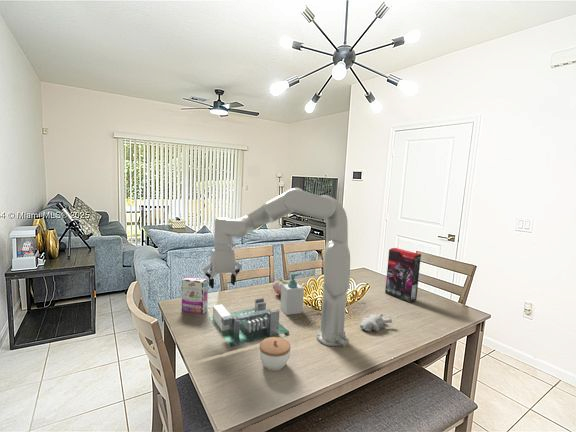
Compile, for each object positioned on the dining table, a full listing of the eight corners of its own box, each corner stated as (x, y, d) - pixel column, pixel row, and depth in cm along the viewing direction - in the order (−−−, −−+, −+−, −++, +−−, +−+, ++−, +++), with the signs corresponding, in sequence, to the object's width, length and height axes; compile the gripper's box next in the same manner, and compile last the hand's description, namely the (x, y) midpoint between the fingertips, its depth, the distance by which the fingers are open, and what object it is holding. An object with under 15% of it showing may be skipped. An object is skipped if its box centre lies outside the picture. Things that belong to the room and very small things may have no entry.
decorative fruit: (291, 295, 171) (292, 277, 170) (284, 299, 164) (284, 281, 163) (278, 291, 176) (278, 274, 174) (269, 295, 169) (270, 278, 168)
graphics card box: (383, 293, 181) (388, 248, 177) (390, 291, 185) (395, 247, 181) (410, 303, 167) (415, 255, 164) (417, 300, 171) (422, 253, 168)
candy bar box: (207, 311, 145) (208, 278, 143) (202, 316, 140) (203, 282, 138) (187, 308, 148) (187, 275, 146) (181, 312, 143) (181, 279, 141)
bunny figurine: (355, 318, 137) (378, 308, 145) (355, 328, 138) (378, 318, 146) (371, 327, 129) (394, 316, 137) (371, 338, 130) (394, 326, 138)
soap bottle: (303, 313, 149) (305, 275, 146) (286, 315, 146) (288, 276, 143) (296, 305, 157) (298, 270, 154) (280, 307, 154) (281, 271, 151)
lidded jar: (288, 356, 112) (290, 332, 111) (289, 375, 101) (291, 349, 100) (259, 356, 112) (260, 332, 110) (257, 374, 101) (258, 348, 100)
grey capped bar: (272, 315, 130) (272, 310, 130) (224, 326, 119) (224, 320, 119) (268, 312, 133) (268, 306, 133) (221, 322, 122) (221, 316, 122)
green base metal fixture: (289, 333, 128) (290, 309, 127) (230, 349, 115) (231, 322, 113) (260, 308, 151) (261, 287, 150) (209, 319, 138) (209, 296, 136)
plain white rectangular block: (231, 328, 128) (231, 315, 127) (221, 331, 126) (222, 317, 125) (221, 316, 139) (221, 304, 138) (212, 318, 136) (212, 305, 136)
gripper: (239, 243, 136) (238, 280, 138) (200, 246, 127) (199, 285, 129) (245, 246, 129) (244, 285, 131) (205, 250, 120) (204, 291, 122)
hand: (222, 285), depth 130 cm, fingers open, 9 cm apart
